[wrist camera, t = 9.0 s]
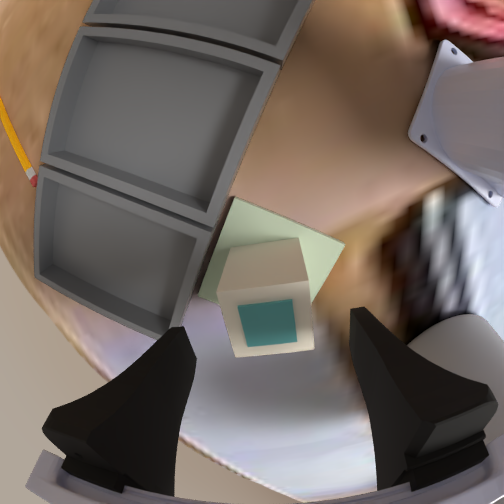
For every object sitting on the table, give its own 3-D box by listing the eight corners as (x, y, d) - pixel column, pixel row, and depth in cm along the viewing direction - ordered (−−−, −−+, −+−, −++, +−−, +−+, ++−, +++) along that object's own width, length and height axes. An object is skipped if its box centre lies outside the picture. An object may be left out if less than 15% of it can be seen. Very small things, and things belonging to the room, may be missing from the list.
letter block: (298, 237, 16) (309, 282, 12) (305, 295, 18) (314, 351, 13) (228, 247, 17) (212, 294, 12) (241, 303, 18) (232, 359, 14)
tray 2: (279, 74, 13) (280, 65, 11) (220, 215, 16) (213, 227, 14) (98, 34, 12) (80, 26, 10) (60, 156, 15) (40, 161, 13)
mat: (343, 242, 17) (345, 244, 16) (293, 327, 19) (294, 330, 19) (235, 196, 16) (234, 198, 16) (198, 292, 19) (197, 296, 18)
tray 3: (218, 220, 17) (211, 232, 15) (180, 327, 20) (172, 346, 18) (59, 160, 15) (39, 165, 13) (50, 264, 19) (34, 277, 17)
